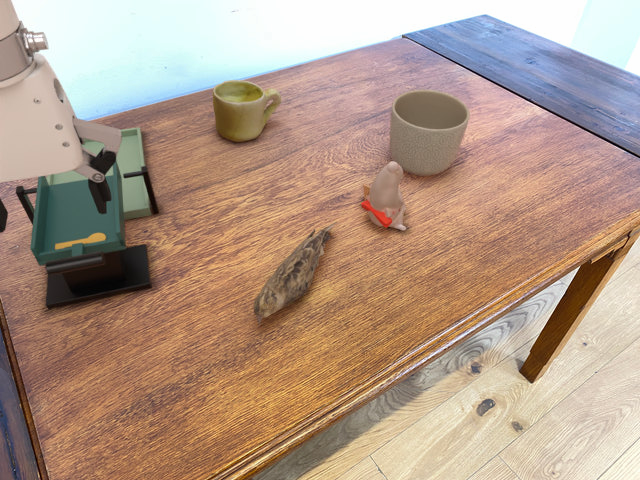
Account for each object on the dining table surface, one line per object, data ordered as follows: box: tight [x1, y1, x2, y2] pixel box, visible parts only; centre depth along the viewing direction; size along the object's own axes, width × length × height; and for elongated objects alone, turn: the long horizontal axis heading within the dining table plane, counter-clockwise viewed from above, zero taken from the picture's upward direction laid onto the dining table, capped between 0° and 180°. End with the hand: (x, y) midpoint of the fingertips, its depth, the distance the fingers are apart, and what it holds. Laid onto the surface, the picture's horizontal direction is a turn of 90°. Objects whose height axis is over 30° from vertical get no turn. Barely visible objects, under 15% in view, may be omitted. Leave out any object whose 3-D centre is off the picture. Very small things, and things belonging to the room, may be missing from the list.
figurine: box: [360, 160, 407, 231], centre depth 75 cm, size 9×7×12 cm
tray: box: [46, 126, 153, 221], centre depth 84 cm, size 23×15×2 cm, turn 18°
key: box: [55, 233, 107, 250], centre depth 63 cm, size 6×2×1 cm, turn 107°
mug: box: [212, 79, 282, 143], centre depth 93 cm, size 12×10×10 cm
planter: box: [389, 89, 471, 177], centre depth 86 cm, size 12×12×11 cm
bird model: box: [253, 221, 338, 325], centre depth 69 cm, size 21×6×5 cm
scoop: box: [29, 161, 127, 276], centre depth 65 cm, size 19×10×4 cm, turn 18°
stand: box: [15, 165, 160, 310], centre depth 70 cm, size 16×17×8 cm
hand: (54, 214), depth 53 cm, fingers open, 9 cm apart
